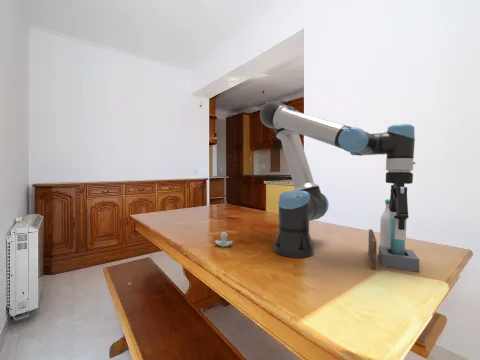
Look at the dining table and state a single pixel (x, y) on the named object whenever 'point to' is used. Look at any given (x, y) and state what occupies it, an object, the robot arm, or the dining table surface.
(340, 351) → the dining table surface
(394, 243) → the peg
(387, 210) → the milk bottle
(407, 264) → the socket block
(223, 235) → the pacifier
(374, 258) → the wooden cutting board
